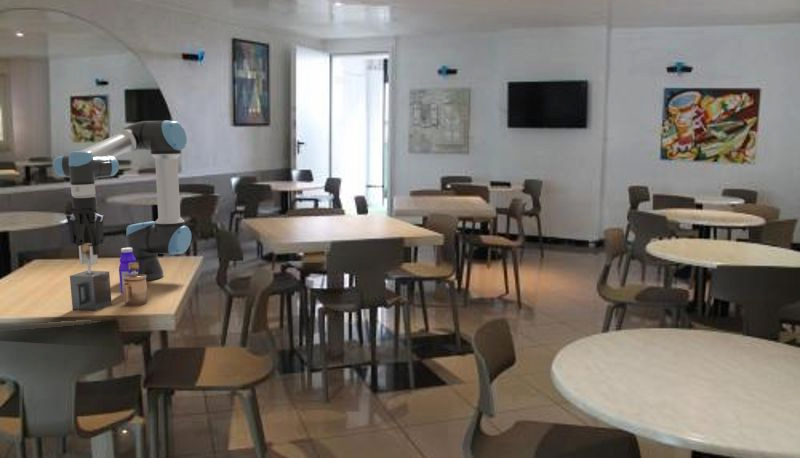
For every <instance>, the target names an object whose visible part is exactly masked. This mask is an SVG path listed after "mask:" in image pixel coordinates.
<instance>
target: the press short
mask: <svg viewBox="0 0 800 458" xmlns="http://www.w3.org/2000/svg"><path fill="white" fill-rule="evenodd" d="M138 269H139V265H138V262H131V263H129V270H133V274H130V275H125V276H123V277H122V279H123V284H124V285H122V293H123V294H122V302H123V303H124V305H125V306H131V307H133V306H141V305H142V306H143V305H146V304H148V289H147V288H148V287H147V281H146V278H147V277H146V275H145V274H136V270H138Z"/></svg>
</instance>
